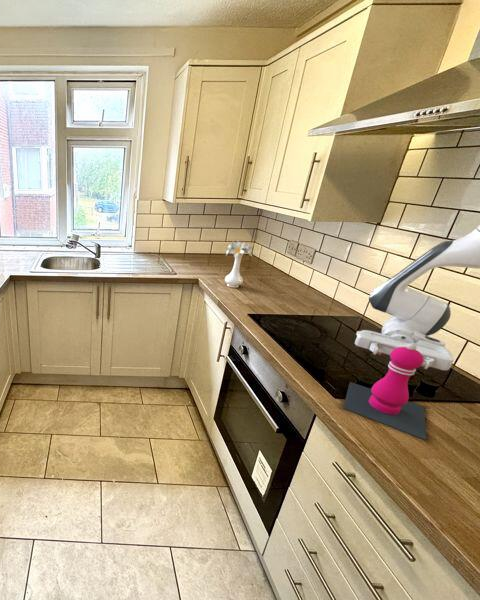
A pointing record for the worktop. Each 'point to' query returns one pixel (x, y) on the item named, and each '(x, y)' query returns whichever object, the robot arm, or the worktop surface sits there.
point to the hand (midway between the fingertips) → (400, 359)
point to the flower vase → (236, 262)
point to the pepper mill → (396, 380)
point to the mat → (405, 420)
